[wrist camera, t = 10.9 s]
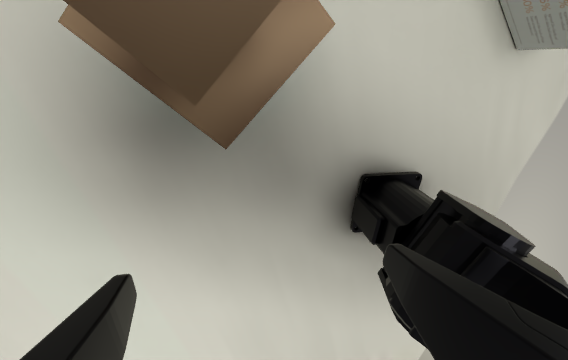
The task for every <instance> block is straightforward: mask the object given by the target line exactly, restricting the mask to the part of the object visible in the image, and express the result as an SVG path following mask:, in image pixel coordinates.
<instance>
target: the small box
mask: <svg viewBox="0 0 568 360" xmlns="http://www.w3.org/2000/svg"><path fill="white" fill-rule="evenodd" d="M500 3H501V6H502V8H503V11H504V14H505V17H506V20H507V23H508V26H509V28H510V31H511V34H512V36H513V39H514V42H515V45H516V48H517V49H518V50H529V49H531V50H533V49H568V0H500Z"/></svg>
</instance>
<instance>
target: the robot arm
mask: <svg viewBox="0 0 568 360" xmlns="http://www.w3.org/2000/svg"><path fill="white" fill-rule="evenodd" d="M416 177H417V178H416ZM367 178H368V179H367ZM415 178H416V179H415ZM366 179H367V181H365V180H366ZM421 180H422V175H421V174H420V173H418V172H407V173H384V174H365V175H363V176H362V177H361V179H360V183H359V188H358V193H357V196H356V198H355V203H354V208H353V213H352V222H351V230H352V231H353V232H363V233H364V234H365V236H366V237H367V238H368V239H369V241H370V242H371V243H372V244H373V245H375V244H376V245H377V246H378V247H379V248H380V250H381V251H382V252H383V253H384V258H383V266H384V267H383V268H381V269H380V270H379V272H378V275H379V278H380V280H381V283H382V286H383V288H384V291H385V293H386V296H387V299H388V301H389V304H390V306H391V309H392V311H393V313H394V315H395V317H396V319H397V321H398V322H399V323H400V324H401V325H402V326H403V327H404V328H405V329H406V330H407V331H408V332H409V334H410V335H411V336H412V337H413V338H414V339H415V340H417V341H418V342H419V343H421V344H422V345H423V346H425V347H426V348H427V349H428V350H429V351H430V352H431V354H432V356H433V358H434V359H435V360H568V284H567V283H566V281H565V280H564V279H563V277H562V276H561V274H560V273H559V272H558V271H557V270H555V269H554V268H553V267H551V266H549V265H548V264H546V263H544V262H543V261H541V260H540V259H538V258H536V257H535V256H533V255H531V254H530V253H529V252H530V251H531V250H532V249H533V248H534V247H535V245H534V244H532V243H531V242H530V241H529V240H527V239H526V238H525V237H523V236H522V235H521V234H519V233H518V232H517V231H516V230H514V229H513V228H512V227H510V226H509V225H508V224H506V223H505V222H503V221H502V220H500V219H498V218H496V217H494V216H493V215H491V214H489V213H487V212H486V211H484V210H482V209H480V208H479V207H477V206H475V205H473V204H470V203H468V202H466V201H464V200H462V199H460V198H458V197H455V196H453V195H451V194H449V193H447V192H445V191H443V190H440V191H439V193H438V194H437V195H436V196H437V198H436V199H435V200H433V199H432V198H430V197H429V196H427V195H426V194H424V193H423V192H422V191H420V190H419V186H420V183H421ZM355 227H356V228H355ZM136 297H137V294H136V289H135V286H134V282H133V279H132V276H131V275H130V274H122V275H116V276H114V277H113V278H111V279H110V280H109V281H108V282H107V283H106V284H105V285H104V286H102V287H101V288H100V289H99V290H98V291H97V292H96V293H95V294H93V295H92V296H91V297H90V298H89V299H88V300H87V301H85V302H84V303H83V304H82V305H81V306H80V307H79V308H78V309H76V310H75V311H74V312H73V313H72V314H71V315H70V316H69V317H67V318H66V319H65V320H64V321H63V322H62V323H61V324H59V325H58V326H57V327H56V328H55V329H54V330H53V331H52V332H50V333H49V334H48V335H47V336H46V337H45V338H44V339H42V340H41V341H40V342H39V343H38V344H37V345H36V346H35V347H33V348H32V349H31V350H30V351H29V352H28V353H27V354H26V355H24V356H23V357H22V358H21V359H20V360H123V357H124V353H125V350H126V345H127V341H128V336H129V332H130V327H131V322H132V317H133V313H134V308H135V303H136Z"/></svg>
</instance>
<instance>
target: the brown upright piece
mask: <svg viewBox="0 0 568 360" xmlns="http://www.w3.org/2000/svg"><path fill="white" fill-rule="evenodd" d="M63 1H65V2H66V3H67V4H68V6H67V8H66V9H65V11H64V12H63V14H62V16H61V17H60V19H59V21H58V22H59V23H61V24H62V25H63V26H64V27H66V28H67V29H68V30H70V31H71V32H72V33H74V34H75V35H76V36H78V37H79V38H80V39H82V40H83V41H84V42H85V43H87V44H88V45H89V46H91V47H92V48H93V49H95V50H96V51H97V52H99V53H100V54H101V55H103V56H104V57H105V58H106V59H108V60H109V61H110V62H112V63H113V64H114V65H116V66H117V67H118V68H120V69H121V70H122V71H124V72H125V73H126V74H127V75H129V76H130V77H131V78H133V79H134V80H135V81H137V82H138V83H139V84H141V85H142V86H143V87H145V88H146V89H147V90H148V91H150V92H151V93H152V94H154V95H155V96H156V97H158V98H159V99H160V100H162V101H163V102H164V103H166V104H167V105H168V106H170V107H171V108H172V109H173V110H175V111H176V112H177V113H179V114H180V115H181V116H183V117H184V118H185V119H187V120H188V121H189V122H191V123H192V124H193V125H194V126H196V127H197V128H198V129H200V130H201V131H202V132H204V133H205V134H206V135H208V136H209V137H210V138H212V139H213V140H214V141H215V142H217V143H218V144H219V145H221V146H222V147H223V148H225V149H227V148H228V146H229V145H230V144H231V143H232V142H233V141H234V140H235V138H236V137H237V136H238V135H239V134H240V133H241V132H242V130H243V129H244V128H245V127H246V126H247V125H248V124H249V122H250V121H251V120H252V119H253V118H254V117H255V116H256V114H257V113H258V112H259V111H260V110H261V109H262V108H263V106H264V105H265V104H266V103H267V102H268V101H269V100H270V98H271V97H272V96H273V95H274V94H275V93H276V92H277V90H278V89H279V88H280V87H281V86H282V85H283V84H284V82H285V81H286V80H287V79H288V78H289V77H290V76H291V74H292V73H293V72H294V71H295V70H296V69H297V68H298V66H299V65H300V64H301V63H302V62H303V61H304V60H305V58H306V57H307V56H308V55H309V54H310V53H311V52H312V50H313V49H314V48H315V47H316V46H317V45H318V44H319V42H320V41H321V40H322V39H323V38H324V37H325V36H326V34H327V33H328V32H329V31H330V30H331V29H332V28H333V26H334V25H335V23H334V21H333V20H332V18H331V17H330V16H329V14H328V13H327V12H326V10H325V9H324V7H323V6H322V5H321V3H320V2H319V1H318V0H63Z"/></svg>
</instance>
